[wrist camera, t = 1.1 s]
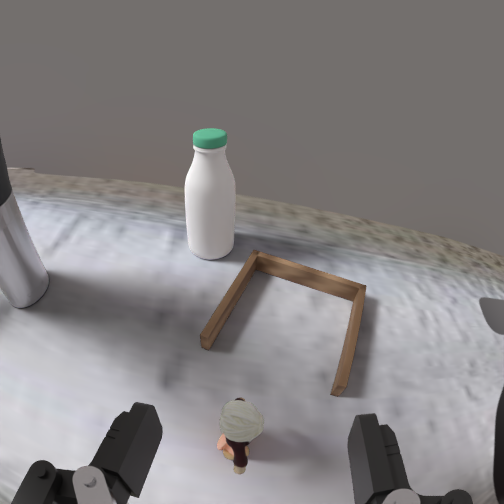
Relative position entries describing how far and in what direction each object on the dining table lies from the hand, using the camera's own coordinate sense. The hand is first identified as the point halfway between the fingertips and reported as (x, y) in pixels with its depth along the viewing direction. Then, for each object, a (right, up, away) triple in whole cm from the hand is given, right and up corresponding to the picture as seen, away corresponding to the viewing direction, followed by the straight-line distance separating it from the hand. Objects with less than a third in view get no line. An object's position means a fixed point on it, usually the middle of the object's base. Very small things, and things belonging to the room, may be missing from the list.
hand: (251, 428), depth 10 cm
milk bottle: (-7, +8, +41) cm, 42 cm away
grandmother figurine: (-2, -14, +17) cm, 22 cm away
